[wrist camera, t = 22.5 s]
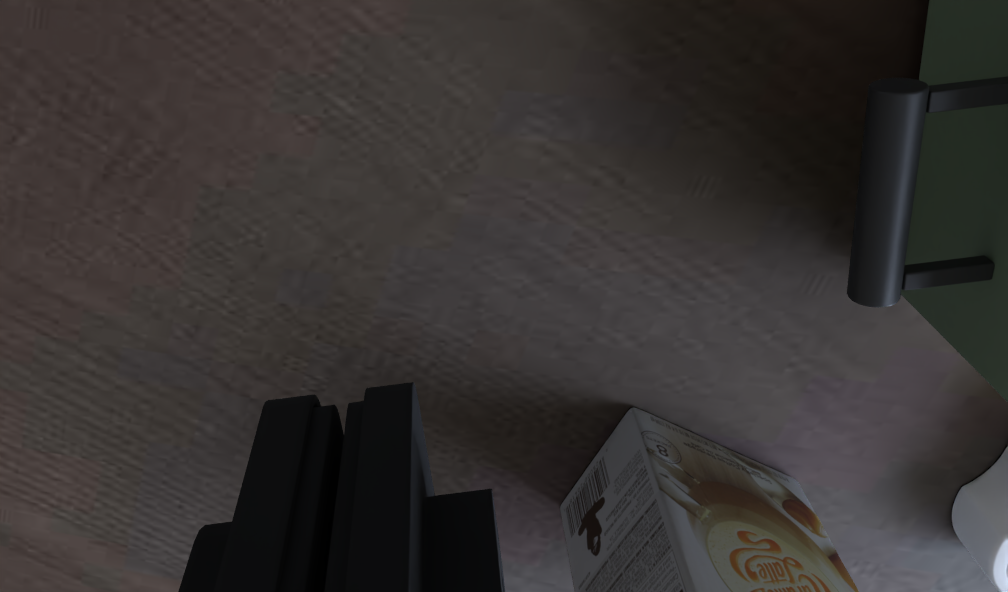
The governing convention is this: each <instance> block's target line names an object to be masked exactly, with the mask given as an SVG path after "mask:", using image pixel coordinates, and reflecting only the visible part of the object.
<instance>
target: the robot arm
mask: <svg viewBox="0 0 1008 592" xmlns="http://www.w3.org/2000/svg"><path fill="white" fill-rule="evenodd" d="M179 592H505V586H504V578H503V569H502V561H501V553H500V545H499V537H498V529H497V522H496V514H495V507H494V499H493V493H492V489H485V490H477V491H469V492H461V493H453V494H446V495H438V496H435V494H434V488H433V482H432V477H431V471H430V465H429V459H428V454H427V448H426V442H425V436H424V431H423V425H422V419H421V413H420V408H419V402H418V396H417V391H416V387H415V384H414V382H412V383H404V384H396V385H388V386H380V387H371V388H367V389H366V390H365V396H364V401H361V402H353V403H349V404H348V408H347V416H346V424H345V432H344V434H343V429H342V425H341V420H340V416H339V412H338V409H337V407H336V406H335V405H329V406H321V405H320V402H319V399H318V397H317V396H316V395H307V396H299V397H291V398H283V399H275V400H268V401H266V402H265V404H264V406H263V409H262V413H261V416H260V420H259V424H258V428H257V431H256V435H255V439H254V442H253V446H252V450H251V454H250V457H249V461H248V465H247V469H246V472H245V476H244V480H243V483H242V487H241V491H240V495H239V498H238V502H237V506H236V509H235V513H234V517H233V521H232V522H226V523H218V524H210V525H205V526H204V527H202V528H201V529H200V530H199V532H198V534H197V537H196V539H195V541H194V544H193V547H192V550H191V554H190V557H189V560H188V563H187V566H186V570H185V573H184V576H183V579H182V582H181V586H180V589H179Z"/></svg>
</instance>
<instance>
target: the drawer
mask: <svg viewBox="0 0 1008 592" xmlns="http://www.w3.org/2000/svg"><path fill="white" fill-rule="evenodd" d="M847 294H848V297H849V298H850V299H851V300H852V301H854V302H856V303H858V304H860V305H864V306H868V307H887V306H891V305H893V304H895V303H897V302H898V300H899V299H900V295H902V296H903V297H904V298H905V299H906V300H907V301H908V302H909V303H910V304H911V305H912V306H913V307H914V308H915V309H916V310H917V311H918V312H919V313H920V314H921V315H922V316H923V317H924V318H925V319H926V320H927V321H928V322H929V323H930V324H931V325H932V326H933V327H934V328H935V329H936V330H937V331H938V332H939V333H940V334H941V335H942V336H943V337H944V338H945V339H946V340H947V341H948V342H949V343H950V344H951V345H952V346H953V347H954V348H955V349H956V350H957V351H958V352H959V353H960V354H961V355H962V356H963V357H964V358H965V359H966V360H967V361H968V362H969V363H970V364H971V365H972V366H973V367H974V368H975V370H976V371H977V372H978V373H979V374H980V375H981V376H982V377H983V378H984V379H985V380H986V381H987V382H988V383H989V384H990V385H991V386H992V387H993V388H994V389H995V390H996V391H997V392H998V393H999V394H1000V395H1001V396H1002V397H1003V398H1004V399H1005V400H1006V401H1007V402H1008V0H929V7H928V14H927V22H926V29H925V37H924V44H923V52H922V59H921V67H920V74H919V80H916V79H910V78H886V79H881V80H877V81H874V82H872V83H871V84H870V85H869V88H868V98H867V107H866V117H865V126H864V136H863V145H862V155H861V164H860V174H859V183H858V193H857V202H856V211H855V221H854V230H853V240H852V249H851V259H850V268H849V278H848V287H847Z"/></svg>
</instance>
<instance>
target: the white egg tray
mask: <svg viewBox="0 0 1008 592" xmlns="http://www.w3.org/2000/svg"><path fill="white" fill-rule="evenodd" d="M952 524H953V528H954V531H955V533H956V535H957V537H958V538H959V539H960V541H961V542H962V544H963V545H964V546H965V548H966V549H967V550H968V552H969V553H970V554H971V556H972V557H973V558H974V560H975V561H976V563H977V564H978V565H979V567H980V568H981V569H982V571H983V572H984V573H985V575H986V576H987V578H988V579H989V580H990V582H991V583H992V584H993V586H994V587H995V588H996V589H997V590H998V591H999V592H1008V445H1007V447H1006V449H1005V451H1004V452H1003V454H1002V455H1001V457H1000V458H999V459H998V460H997V462H996V463H995V464H994V465H993V466H992V467H991V468H990V469H988V470H987V471H986V472H985V473H984V474H982V475H981V476H980V477H978V478H977V479H975V480H973V481H972V482H970V483H968V484H966V485H964V486H962V487H961V489H960V491H959V492H958V494H957V496H956V498H955V501H954V504H953V508H952Z"/></svg>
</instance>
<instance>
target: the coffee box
mask: <svg viewBox="0 0 1008 592" xmlns="http://www.w3.org/2000/svg"><path fill="white" fill-rule="evenodd" d="M560 512H561V518H562V523H563V529H564V534H565V539H566V544H567V551H568V556H569V562H570V567H571V574H572V579H573V585H574V591H575V592H859V591H858V589H857V587H856V586H855V584H854V582H853V580H852V579H851V577H850V575H849V573H848V571H847V570H846V568H845V566H844V564H843V563H842V561H841V559H840V557H839V556H838V554H837V552H836V550H835V548H834V546H833V544H832V542H831V541H830V539H829V537H828V535H827V533H826V532H825V530H824V528H823V526H822V524H821V522H820V520H819V518H818V517H817V515H816V513H815V511H814V510H813V508H812V506H811V504H810V503H809V501H808V499H807V497H806V495H805V494H804V492H803V490H802V489H801V486H800V485H799V483H798V481H797V480H796V479H794V478H792V477H790V476H787V475H785V474H783V473H781V472H778V471H776V470H774V469H772V468H769V467H767V466H765V465H763V464H761V463H758V462H756V461H754V460H752V459H749V458H747V457H745V456H742V455H740V454H738V453H736V452H734V451H731V450H729V449H727V448H725V447H723V446H720V445H718V444H716V443H714V442H712V441H709V440H707V439H705V438H703V437H700V436H698V435H696V434H694V433H692V432H689V431H687V430H685V429H683V428H680V427H678V426H676V425H674V424H672V423H670V422H667V421H665V420H663V419H660V418H658V417H656V416H654V415H652V414H650V413H647V412H645V411H642V410H640V409H638V408H634V407H633V408H631V409H629V411H628V412H627V413H626V414H625V416H624V417H623V418H622V420H621V421H620V423H619V424H618V426H617V427H616V428H615V430H614V431H613V433H612V434H611V435H610V437H609V438H608V440H607V441H606V442H605V444H604V445H603V447H602V448H601V449H600V451H599V452H598V454H597V455H596V456H595V458H594V459H593V461H592V462H591V463H590V465H589V466H588V467H587V469H586V470H585V472H584V473H583V475H582V476H581V477H580V479H579V480H578V482H577V483H576V484H575V486H574V487H573V489H572V490H571V491H570V493H569V494H568V496H567V497H566V498H565V500H564V501H563V503H562V504H561V506H560Z"/></svg>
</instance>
